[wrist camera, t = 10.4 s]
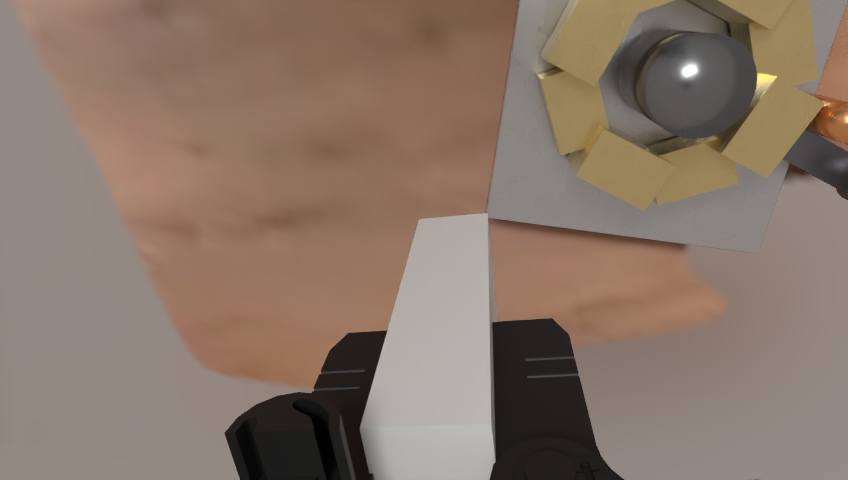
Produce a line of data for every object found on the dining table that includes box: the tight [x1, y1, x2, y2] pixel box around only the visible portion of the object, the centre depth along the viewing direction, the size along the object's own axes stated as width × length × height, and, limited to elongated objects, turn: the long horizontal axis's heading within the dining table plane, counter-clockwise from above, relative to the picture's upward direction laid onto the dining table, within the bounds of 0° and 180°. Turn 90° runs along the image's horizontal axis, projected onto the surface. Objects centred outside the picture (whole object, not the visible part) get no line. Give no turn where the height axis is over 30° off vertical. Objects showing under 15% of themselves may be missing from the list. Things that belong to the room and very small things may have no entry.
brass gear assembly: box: [537, 0, 848, 211], centre depth 32 cm, size 22×14×6 cm, turn 64°
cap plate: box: [486, 0, 848, 253], centre depth 32 cm, size 21×19×9 cm
